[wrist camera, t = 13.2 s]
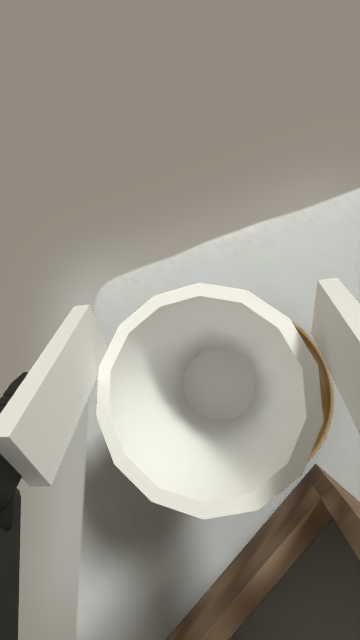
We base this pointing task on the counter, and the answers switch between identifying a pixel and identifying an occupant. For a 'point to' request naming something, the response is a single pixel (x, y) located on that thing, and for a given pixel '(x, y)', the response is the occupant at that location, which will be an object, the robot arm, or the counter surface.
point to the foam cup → (209, 400)
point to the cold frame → (272, 556)
